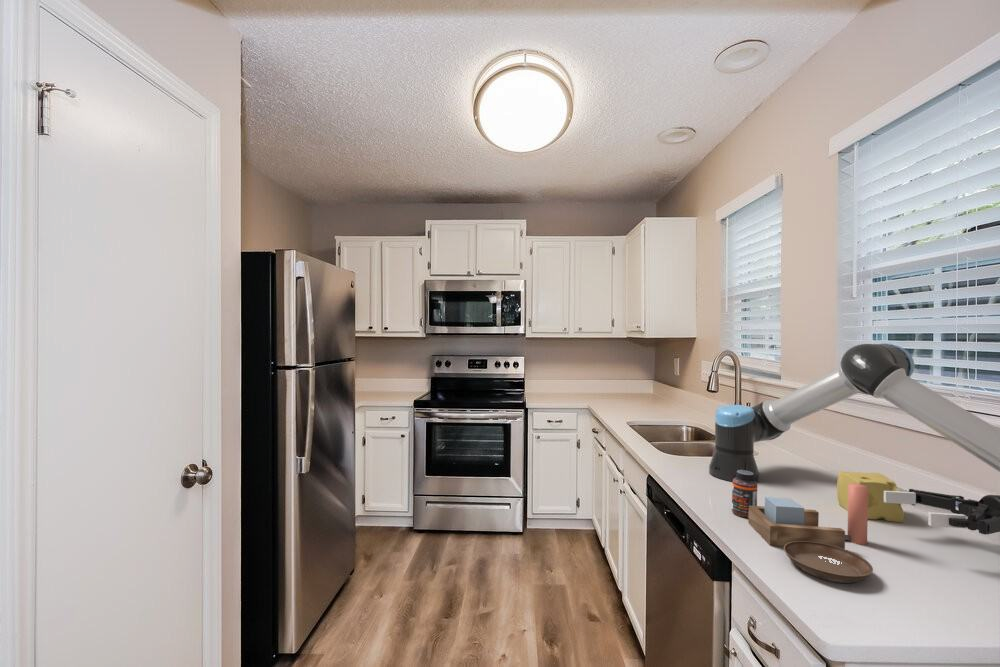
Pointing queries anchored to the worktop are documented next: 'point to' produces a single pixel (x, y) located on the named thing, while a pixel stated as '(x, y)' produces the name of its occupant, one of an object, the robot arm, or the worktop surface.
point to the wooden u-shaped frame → (794, 529)
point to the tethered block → (794, 513)
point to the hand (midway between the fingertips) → (905, 507)
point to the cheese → (871, 494)
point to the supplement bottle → (743, 493)
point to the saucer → (809, 561)
